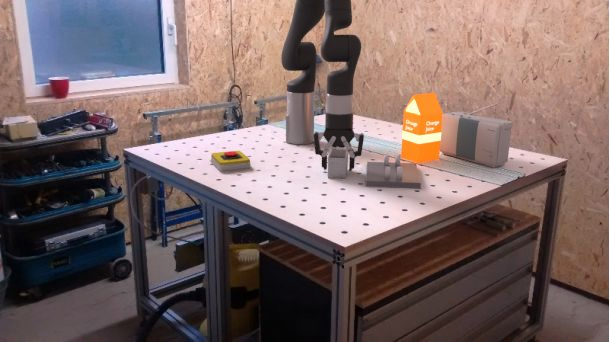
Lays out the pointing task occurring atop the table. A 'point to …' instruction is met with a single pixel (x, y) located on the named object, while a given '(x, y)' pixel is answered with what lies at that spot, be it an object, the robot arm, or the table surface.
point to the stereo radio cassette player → (476, 137)
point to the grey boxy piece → (337, 163)
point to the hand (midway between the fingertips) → (338, 169)
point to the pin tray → (392, 174)
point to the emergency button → (230, 161)
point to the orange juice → (422, 129)
